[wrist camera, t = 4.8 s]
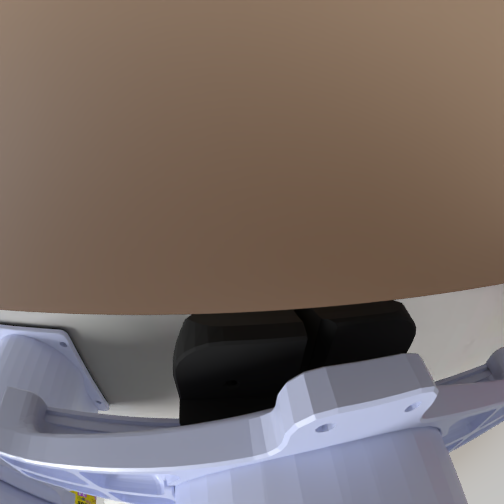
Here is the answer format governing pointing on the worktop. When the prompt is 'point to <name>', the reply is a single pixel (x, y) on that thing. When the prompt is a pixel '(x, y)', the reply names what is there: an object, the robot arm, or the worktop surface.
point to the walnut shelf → (248, 153)
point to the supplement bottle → (83, 498)
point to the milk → (114, 502)
